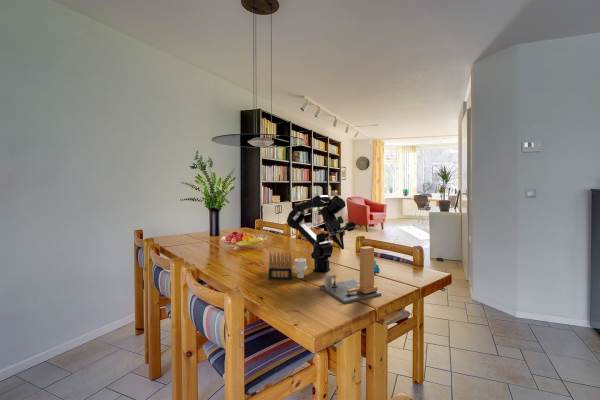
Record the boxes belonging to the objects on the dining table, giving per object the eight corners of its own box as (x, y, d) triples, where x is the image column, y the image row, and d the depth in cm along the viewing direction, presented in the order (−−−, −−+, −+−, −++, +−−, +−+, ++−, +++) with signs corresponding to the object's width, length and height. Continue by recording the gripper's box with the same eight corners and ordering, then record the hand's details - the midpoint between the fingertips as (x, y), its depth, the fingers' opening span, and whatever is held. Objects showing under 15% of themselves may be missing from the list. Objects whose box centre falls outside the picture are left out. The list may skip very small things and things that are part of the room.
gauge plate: (319, 288, 117) (319, 273, 117) (353, 281, 125) (353, 268, 124) (344, 303, 102) (344, 286, 101) (381, 295, 109) (381, 279, 109)
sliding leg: (343, 292, 109) (343, 248, 108) (368, 286, 114) (368, 245, 114) (351, 296, 105) (351, 251, 104) (377, 290, 110) (377, 247, 109)
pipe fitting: (299, 273, 137) (299, 257, 136) (310, 277, 132) (310, 259, 131) (290, 276, 132) (289, 259, 132) (301, 280, 127) (300, 262, 127)
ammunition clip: (292, 278, 130) (292, 252, 129) (292, 280, 128) (291, 253, 127) (269, 278, 131) (269, 251, 131) (268, 279, 129) (268, 252, 129)
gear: (376, 271, 133) (362, 254, 137) (367, 279, 135) (353, 262, 139) (384, 269, 142) (371, 253, 146) (375, 276, 144) (362, 260, 148)
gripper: (310, 220, 128) (323, 253, 122) (349, 205, 129) (364, 237, 122) (311, 227, 138) (324, 258, 132) (348, 213, 139) (362, 243, 133)
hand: (343, 249), depth 130 cm, fingers closed
